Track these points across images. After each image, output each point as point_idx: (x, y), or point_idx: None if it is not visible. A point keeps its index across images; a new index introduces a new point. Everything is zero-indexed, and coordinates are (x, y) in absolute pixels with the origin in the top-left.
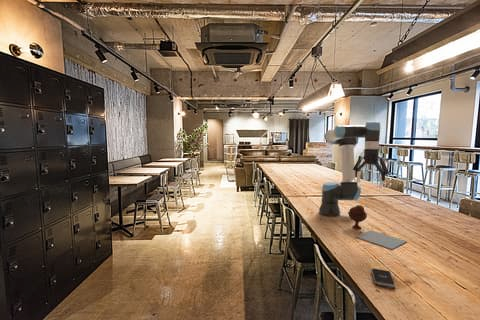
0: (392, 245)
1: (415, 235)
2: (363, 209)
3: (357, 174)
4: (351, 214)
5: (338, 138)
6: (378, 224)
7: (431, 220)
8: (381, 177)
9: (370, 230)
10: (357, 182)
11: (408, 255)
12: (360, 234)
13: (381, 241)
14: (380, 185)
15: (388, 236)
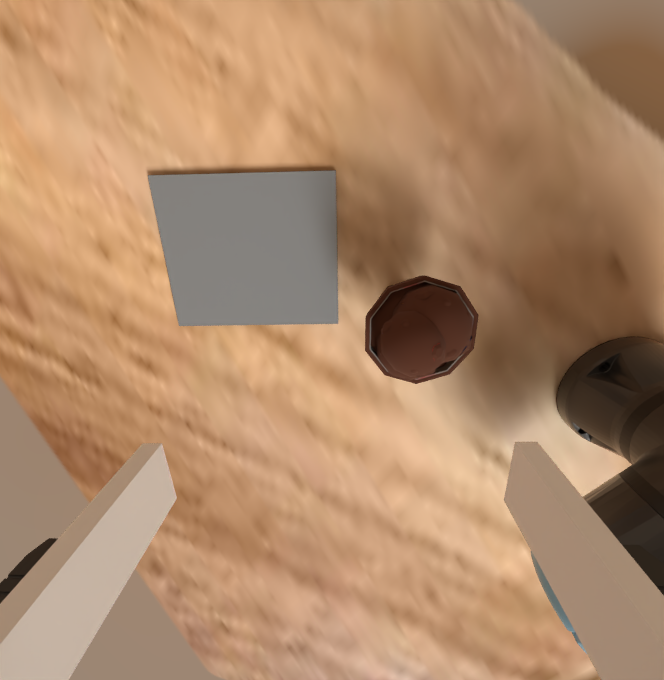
0: (173, 220)
1: (211, 420)
2: (383, 345)
3: (647, 592)
4: (434, 280)
5: None
6: (364, 426)
7: (272, 594)
8: (12, 599)
9: (337, 317)
10: (521, 442)
11: (84, 181)
12: (335, 222)
13: (226, 223)
14: (136, 454)
15: (248, 313)
